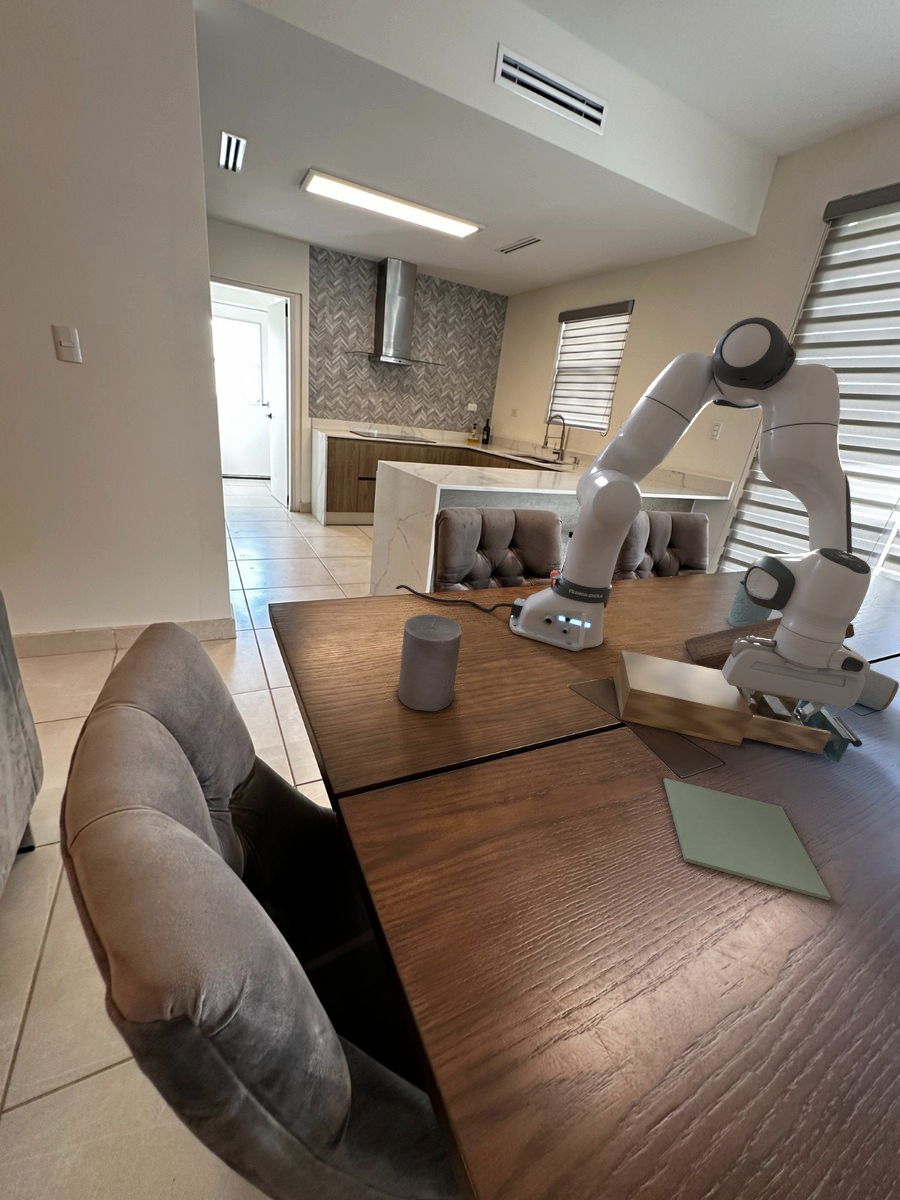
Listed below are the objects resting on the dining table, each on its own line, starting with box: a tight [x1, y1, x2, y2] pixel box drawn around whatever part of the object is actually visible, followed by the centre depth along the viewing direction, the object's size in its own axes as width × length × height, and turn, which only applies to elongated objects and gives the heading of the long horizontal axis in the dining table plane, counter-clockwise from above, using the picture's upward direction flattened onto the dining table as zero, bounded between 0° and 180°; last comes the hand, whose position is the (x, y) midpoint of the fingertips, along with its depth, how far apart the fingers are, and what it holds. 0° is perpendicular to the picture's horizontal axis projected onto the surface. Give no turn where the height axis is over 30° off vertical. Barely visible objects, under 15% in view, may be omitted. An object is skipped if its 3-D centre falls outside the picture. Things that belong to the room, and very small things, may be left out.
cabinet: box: [613, 649, 753, 747], centre depth 87 cm, size 20×15×7 cm
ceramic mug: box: [855, 668, 900, 712], centre depth 99 cm, size 11×8×8 cm
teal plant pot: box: [727, 579, 773, 628], centre depth 130 cm, size 10×10×12 cm
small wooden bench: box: [684, 616, 855, 668], centre depth 106 cm, size 10×16×30 cm
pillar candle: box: [397, 614, 463, 712], centre depth 80 cm, size 10×10×15 cm
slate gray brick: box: [756, 694, 792, 722], centre depth 84 cm, size 3×6×4 cm, turn 167°
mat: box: [663, 777, 832, 901], centre depth 62 cm, size 16×14×1 cm
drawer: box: [736, 686, 863, 763], centre depth 84 cm, size 23×13×5 cm, turn 77°
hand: (773, 714), depth 84 cm, fingers open, 7 cm apart
